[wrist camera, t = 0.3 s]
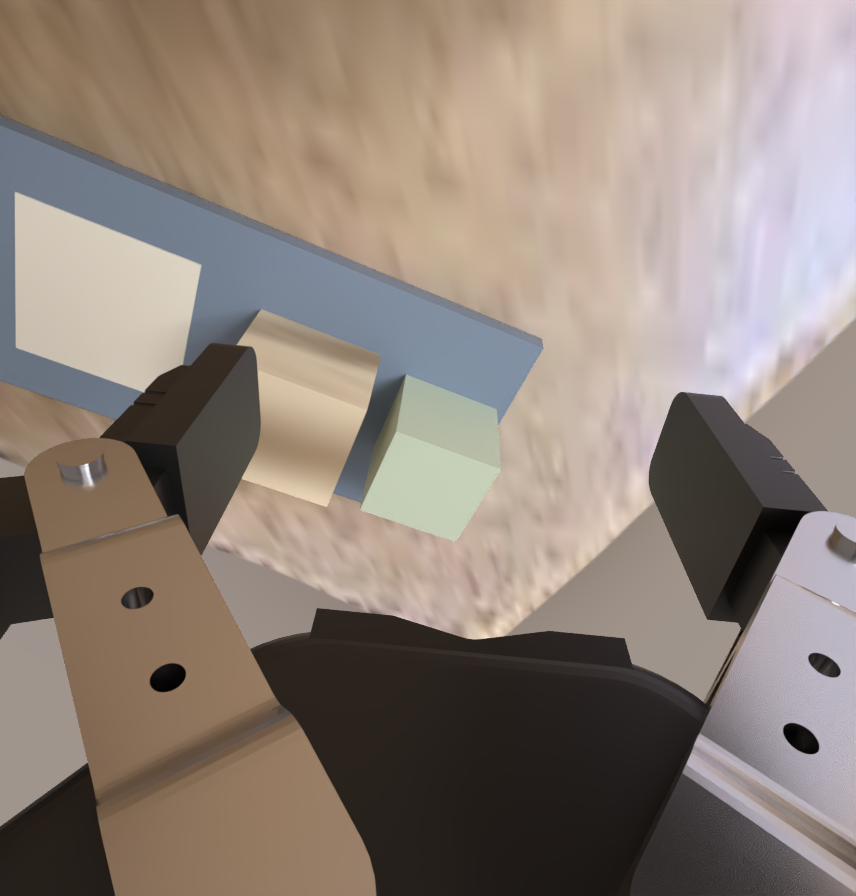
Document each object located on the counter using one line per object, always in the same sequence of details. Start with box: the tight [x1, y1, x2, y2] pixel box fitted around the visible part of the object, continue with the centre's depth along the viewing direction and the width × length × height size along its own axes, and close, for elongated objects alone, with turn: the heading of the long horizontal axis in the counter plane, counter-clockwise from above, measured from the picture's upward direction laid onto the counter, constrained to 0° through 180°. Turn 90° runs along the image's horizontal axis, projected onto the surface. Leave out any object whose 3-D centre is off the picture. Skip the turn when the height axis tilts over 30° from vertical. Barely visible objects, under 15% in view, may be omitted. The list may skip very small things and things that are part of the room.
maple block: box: [237, 309, 381, 507], centre depth 29 cm, size 6×6×5 cm
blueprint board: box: [0, 115, 543, 502], centre depth 31 cm, size 13×26×1 cm, turn 68°
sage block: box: [360, 375, 501, 542], centre depth 30 cm, size 5×5×5 cm
